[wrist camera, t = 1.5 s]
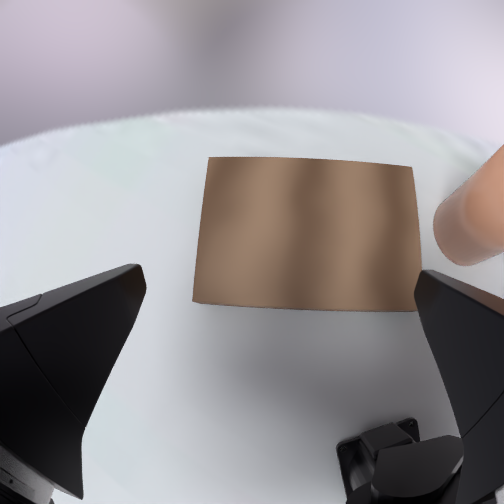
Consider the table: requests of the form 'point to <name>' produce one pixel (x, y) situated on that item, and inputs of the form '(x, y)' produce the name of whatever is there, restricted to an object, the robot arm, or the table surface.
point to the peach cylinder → (474, 216)
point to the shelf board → (308, 235)
